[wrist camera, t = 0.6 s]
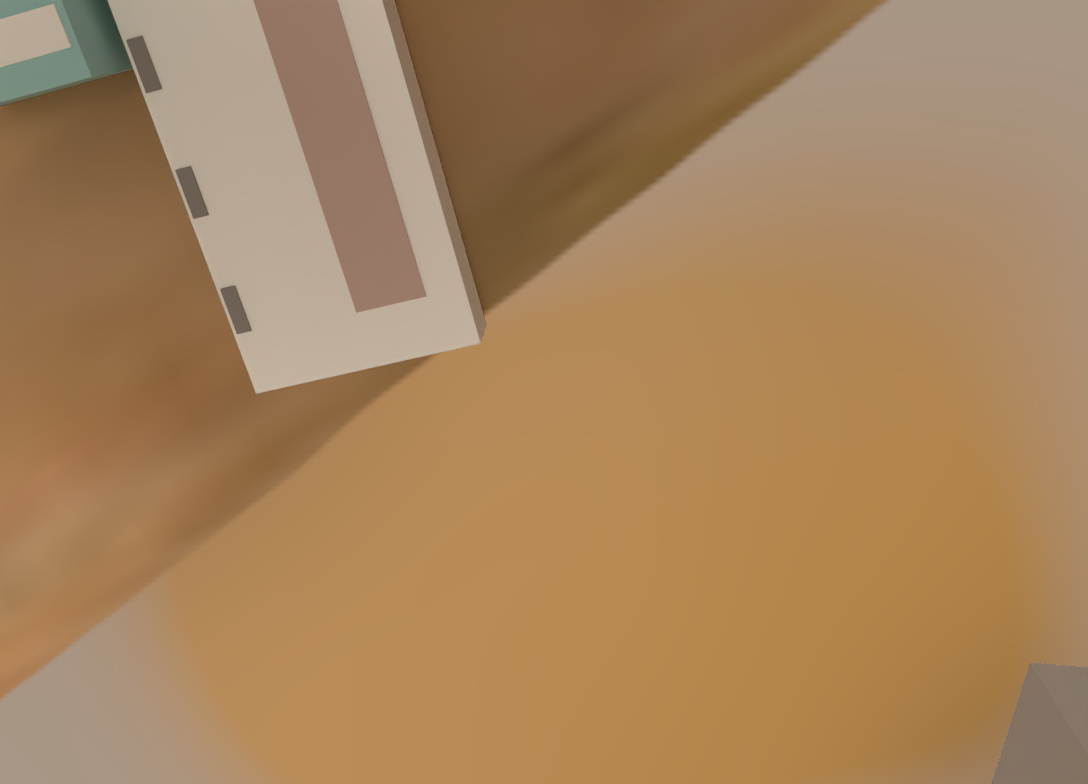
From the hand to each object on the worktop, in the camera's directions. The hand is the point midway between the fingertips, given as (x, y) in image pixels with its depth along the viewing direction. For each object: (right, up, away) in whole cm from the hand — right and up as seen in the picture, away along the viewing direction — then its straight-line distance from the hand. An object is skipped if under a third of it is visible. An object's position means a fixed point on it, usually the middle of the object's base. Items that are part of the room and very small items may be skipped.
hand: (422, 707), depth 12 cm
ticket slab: (-7, +15, +21) cm, 27 cm away
